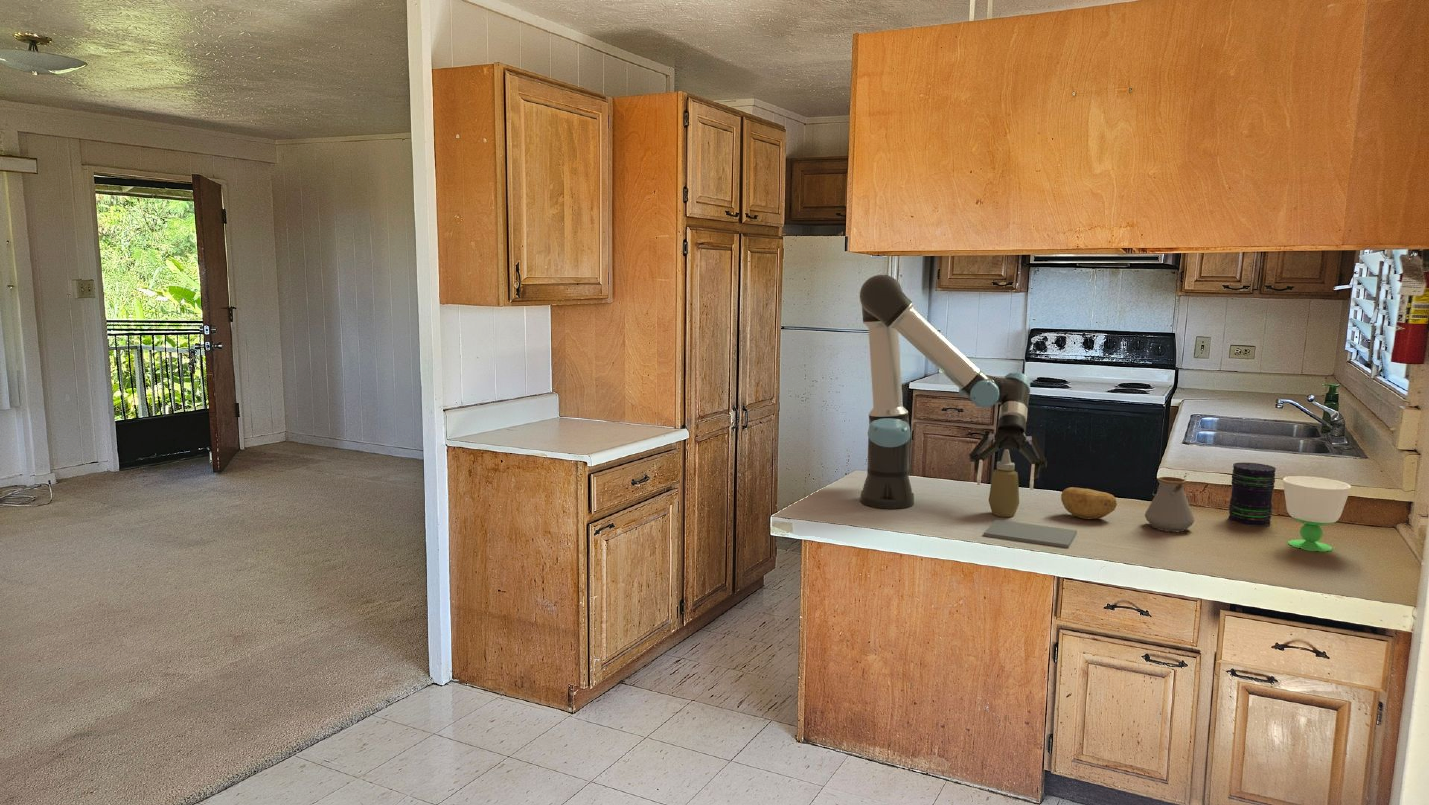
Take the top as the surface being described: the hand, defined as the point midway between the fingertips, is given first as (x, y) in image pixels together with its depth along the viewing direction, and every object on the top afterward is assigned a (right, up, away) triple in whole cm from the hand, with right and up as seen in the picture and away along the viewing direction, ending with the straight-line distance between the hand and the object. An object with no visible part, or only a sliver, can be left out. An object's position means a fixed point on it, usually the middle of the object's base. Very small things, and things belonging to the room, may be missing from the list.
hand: (1004, 484), depth 240 cm
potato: (+22, -9, 0) cm, 24 cm away
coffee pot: (+38, -11, -14) cm, 42 cm away
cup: (+66, -13, -24) cm, 72 cm away
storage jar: (+64, -10, -3) cm, 65 cm away
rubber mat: (+2, -11, -16) cm, 19 cm away
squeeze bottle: (+1, -9, +3) cm, 9 cm away
